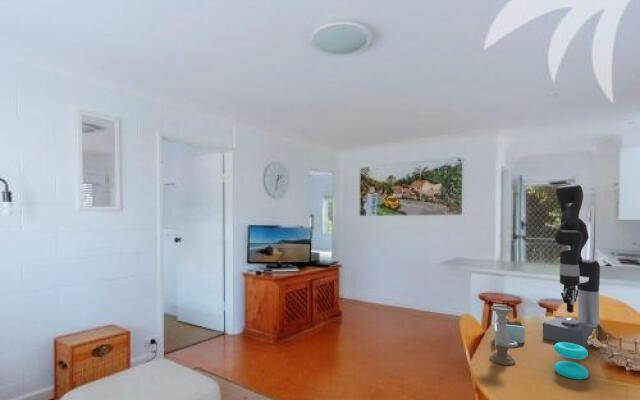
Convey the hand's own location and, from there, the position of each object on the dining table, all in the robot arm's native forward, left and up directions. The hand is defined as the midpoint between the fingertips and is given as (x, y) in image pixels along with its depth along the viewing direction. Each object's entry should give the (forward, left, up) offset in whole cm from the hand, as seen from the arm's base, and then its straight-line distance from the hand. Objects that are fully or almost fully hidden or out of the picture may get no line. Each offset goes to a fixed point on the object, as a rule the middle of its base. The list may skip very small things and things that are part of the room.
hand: (570, 312), depth 167 cm
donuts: (+41, +16, -13) cm, 46 cm away
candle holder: (+50, -4, -13) cm, 52 cm away
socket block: (0, 0, -12) cm, 12 cm away
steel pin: (0, 0, -11) cm, 11 cm away
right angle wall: (+30, -12, -13) cm, 35 cm away
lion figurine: (+16, -19, -13) cm, 28 cm away
